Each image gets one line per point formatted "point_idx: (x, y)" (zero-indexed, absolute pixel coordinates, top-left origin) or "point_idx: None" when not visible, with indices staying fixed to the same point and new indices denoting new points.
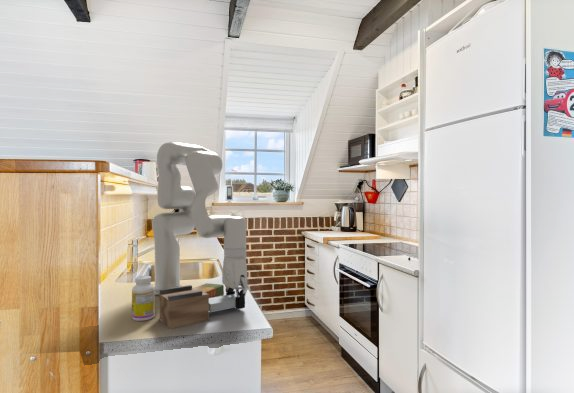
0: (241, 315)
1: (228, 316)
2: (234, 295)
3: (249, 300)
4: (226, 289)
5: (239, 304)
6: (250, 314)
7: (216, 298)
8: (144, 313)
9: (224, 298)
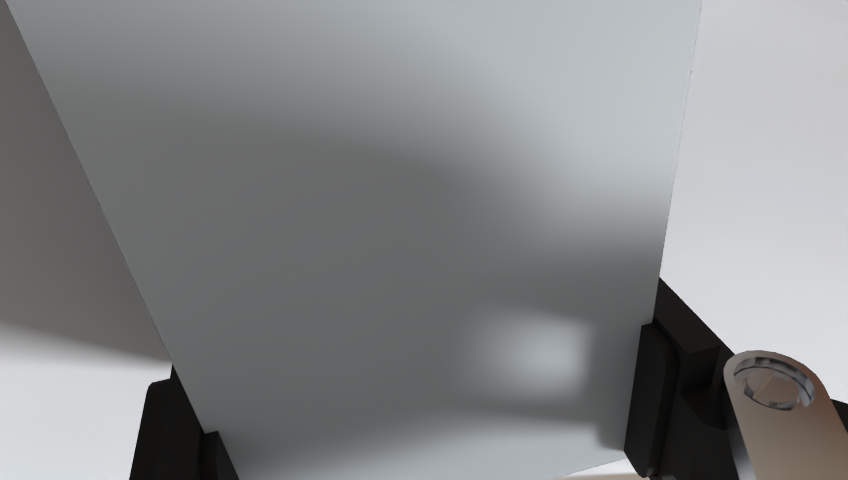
0: (13, 303)
1: (7, 87)
2: (524, 435)
3: (611, 466)
4: (779, 403)
5: (143, 408)
6: (34, 417)
7: (555, 10)
8: None
9: (426, 222)
